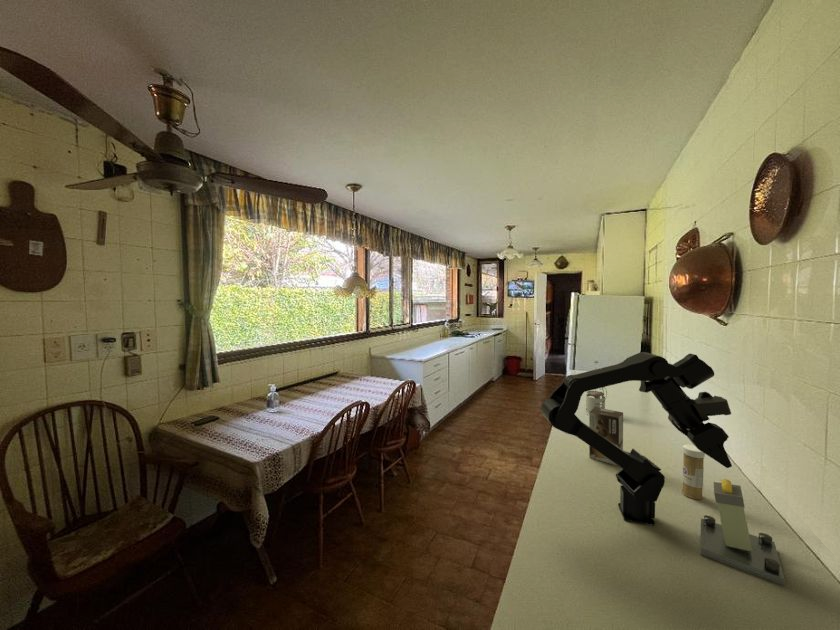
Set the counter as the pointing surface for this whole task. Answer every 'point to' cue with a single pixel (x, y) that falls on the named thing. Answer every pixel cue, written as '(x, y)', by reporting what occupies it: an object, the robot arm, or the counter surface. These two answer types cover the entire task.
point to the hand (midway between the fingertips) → (719, 458)
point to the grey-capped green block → (732, 515)
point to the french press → (595, 399)
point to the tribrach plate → (742, 552)
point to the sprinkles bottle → (692, 472)
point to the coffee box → (606, 429)
